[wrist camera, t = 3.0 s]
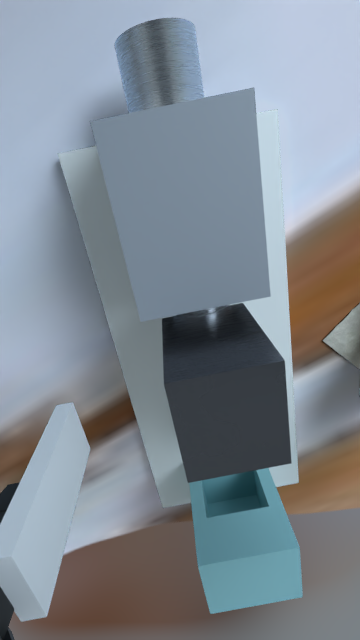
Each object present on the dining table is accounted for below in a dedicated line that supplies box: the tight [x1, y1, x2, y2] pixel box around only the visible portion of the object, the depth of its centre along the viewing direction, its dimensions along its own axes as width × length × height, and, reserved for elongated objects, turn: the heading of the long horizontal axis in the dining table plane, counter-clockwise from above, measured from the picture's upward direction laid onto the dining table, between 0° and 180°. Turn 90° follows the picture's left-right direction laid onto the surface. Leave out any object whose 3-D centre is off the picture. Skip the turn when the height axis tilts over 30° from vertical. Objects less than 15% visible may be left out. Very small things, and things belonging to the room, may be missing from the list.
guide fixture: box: [58, 88, 302, 614], centre depth 20 cm, size 28×12×9 cm, turn 11°
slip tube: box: [115, 18, 292, 483], centre depth 15 cm, size 22×4×9 cm, turn 11°
